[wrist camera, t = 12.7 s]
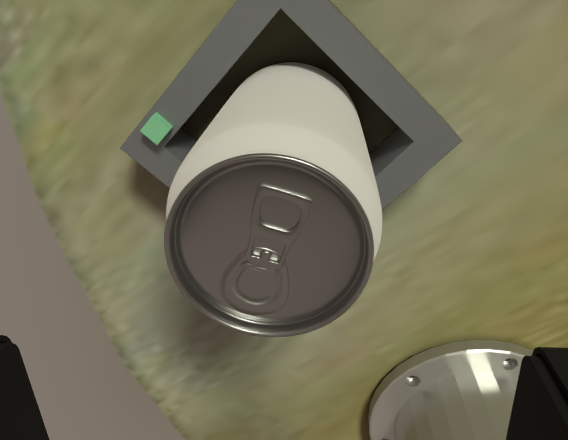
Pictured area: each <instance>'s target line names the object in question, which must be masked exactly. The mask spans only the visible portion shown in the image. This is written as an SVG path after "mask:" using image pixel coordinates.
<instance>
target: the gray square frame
mask: <svg viewBox="0 0 568 440" xmlns="http://www.w3.org/2000/svg"><path fill="white" fill-rule="evenodd" d="M281 9H282V10H283V11H284V12H285V13H286V14H287V15H288V16H289V17H290V18H291V19H292V20H293V21H294V22H295V23H296V24H297V25H298V26H299V27H300V28H301V29H302V30H303V31H304V32H305V33H306V34H307V35H308V36H309V37H310V38H311V39H312V40H313V41H314V42H315V43H316V44H317V45H318V46H319V47H320V48H321V49H322V50H323V51H324V52H325V53H326V54H327V55H328V56H329V57H330V58H331V59H332V60H333V61H334V62H335V63H336V64H337V65H338V66H339V67H340V68H341V69H342V70H343V71H344V72H345V73H346V74H347V75H348V76H349V77H350V78H351V79H352V80H353V81H354V82H355V83H356V84H357V85H358V86H359V87H360V88H361V89H362V90H363V91H364V92H365V93H366V94H367V95H368V96H369V97H370V98H371V99H372V100H373V101H374V102H375V103H376V104H377V105H378V106H379V107H380V108H381V109H382V110H383V111H384V112H385V113H386V114H387V115H388V116H389V117H390V118H391V119H392V120H393V121H394V122H395V123H396V124H397V125H398V126H399V127H398V128H397V129H396V130H395V131H394V132H393V133H392V134H391V135H389V136H388V137H387V138H386V139H385V140H384V141H383V142H382V143H381V144H380V145H379V146H378V147H377V148H376V149H374V150H373V151H372V152H371V153H370V154H369V157H370V160H371V164H372V168H373V172H374V175H375V179H376V183H377V188H378V192H379V197H380V202H381V208H382V210H383V209H384V208H385V207H386V206H388V205H389V204H390V203H391V202H392V201H393V200H395V199H396V198H397V197H398V196H399V195H400V194H401V193H403V192H404V191H405V190H406V189H407V188H408V187H410V186H411V185H412V184H413V183H414V182H415V181H417V180H418V179H419V178H420V177H421V176H422V175H423V174H425V173H426V172H427V171H428V170H429V169H430V168H432V167H433V166H434V165H435V164H436V163H437V162H439V161H440V160H441V159H442V158H443V157H444V156H445V155H447V154H448V153H449V152H450V151H451V150H452V149H454V148H455V147H456V146H457V145H458V144H459V143H461V142H462V140H461V138H460V137H459V136H458V135H457V134H456V133H455V131H454V130H453V129H452V128H451V127H450V126H449V124H448V123H447V122H446V121H445V120H444V119H443V118H442V117H441V116H440V115H439V114H438V113H437V112H436V110H435V109H434V108H433V107H432V106H431V105H430V104H429V103H428V102H427V101H426V100H425V99H424V98H423V97H422V96H421V95H420V94H419V93H418V92H417V91H416V90H415V89H414V88H413V87H412V85H411V84H410V83H409V82H408V81H407V80H406V79H405V78H404V77H403V76H402V75H401V74H400V73H399V72H398V71H397V70H396V69H395V68H394V67H393V66H392V65H391V64H390V63H389V61H388V60H387V59H386V58H385V57H384V56H383V55H382V54H381V53H380V52H379V51H378V50H377V49H376V48H375V47H374V46H373V45H372V44H371V43H370V42H369V41H368V40H367V39H366V37H365V36H364V35H363V34H362V33H361V32H360V31H359V30H358V29H357V28H356V27H355V26H354V25H353V24H352V23H351V22H350V21H349V20H348V19H347V18H346V17H345V16H344V15H343V13H342V12H341V11H340V10H339V9H338V8H337V7H336V6H335V5H334V4H333V3H332V2H331V1H330V0H237V1H236V2H235V3H234V5H233V6H232V7H231V9H230V10H229V11H228V12H227V14H226V15H225V16H224V17H223V19H222V20H221V21H220V22H219V24H218V25H217V26H216V27H215V29H214V30H213V31H212V32H211V34H210V35H209V36H208V38H207V39H206V40H205V41H204V43H203V44H202V45H201V46H200V48H199V49H198V50H197V51H196V53H195V54H194V55H193V56H192V58H191V59H190V60H189V62H188V63H187V64H186V65H185V67H184V68H183V69H182V70H181V72H180V73H179V74H178V75H177V77H176V78H175V79H174V80H173V82H172V83H171V84H170V85H169V87H168V88H167V89H166V91H165V92H164V93H163V94H162V96H161V97H160V98H159V99H158V101H157V102H156V103H155V104H154V106H153V107H152V108H151V109H150V111H149V112H148V113H147V115H146V116H145V117H144V118H143V120H142V121H141V122H140V123H139V125H138V126H137V127H136V128H135V130H134V131H133V132H132V133H131V135H130V136H129V137H128V138H127V140H126V141H125V142H124V144H123V145H122V146H121V147H120V149H122V150H123V151H124V152H125V153H127V154H128V155H129V156H130V157H131V158H133V159H134V160H135V161H136V162H138V163H139V164H140V165H141V166H143V167H144V168H145V169H146V170H148V171H149V172H150V173H151V174H153V175H154V176H155V177H156V178H157V179H159V180H160V181H161V182H162V183H164V184H165V185H166V186H167V187H169V188H170V187H171V185H172V182H173V179H174V177H175V175H176V173H177V171H178V169H179V167H180V166H181V164H182V162H183V161H184V159H185V158H186V156H187V155H188V153H189V152H190V150H191V149H192V148H193V146H194V145H195V143H196V142H197V141H196V140H195V139H194V138H192V137H191V136H190V135H189V134H188V133H187V132H185V131H184V130H183V129H182V127H183V125H184V124H185V123H186V122H187V121H188V119H189V118H190V117H191V116H192V115H193V113H194V112H195V111H196V110H197V109H198V107H199V106H200V105H201V104H202V103H203V102H204V100H205V99H206V98H207V97H208V96H209V94H210V93H211V92H212V91H213V90H214V88H215V87H216V86H217V85H218V84H219V83H220V81H221V80H222V79H223V78H224V77H225V75H226V74H227V73H228V72H229V71H230V69H231V68H232V67H233V66H234V65H235V64H236V62H237V61H238V60H239V59H240V58H241V56H242V55H243V54H244V53H245V52H246V50H247V49H248V48H249V47H250V46H251V44H252V43H253V42H254V41H255V40H256V39H257V37H258V36H259V35H260V34H261V33H262V31H263V30H264V29H265V28H266V27H267V25H268V24H269V23H270V22H271V21H272V20H273V18H274V17H275V16H276V15H277V14H278V12H279V11H280V10H281Z"/></svg>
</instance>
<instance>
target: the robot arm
mask: <svg viewBox="0 0 568 440" xmlns="http://www.w3.org/2000/svg"><path fill="white" fill-rule="evenodd" d="M368 423H369V435H370V439H371V440H568V348H548V347H538V348H535V349H534V351H533V350H530V349H528V348H525V347H522V346H519V345H516V344H512V343H506V342H501V341H495V340H469V341H460V342H452V343H448V344H444V345H441V346H437V347H433V348H430V349H428V350H426V351H423V352H421V353H419V354H416V355H414V356H412V357H411V358H409V359H408V360H406V361H405V362H403V363H401V364H400V365H398V366H397V367H396V368H395V369H394V370H393V371H392V372H390V373H389V374H388V375H387V376H386V377H385V378H384V379H383V381H382V382H381V384H380V385H379V386H378V388H377V389H376V391H375V393H374V395H373V398H372V400H371V402H370V407H369V413H368ZM0 440H49V437H48V434H47V431H46V429H45V425H44V423H43V419H42V416H41V413H40V410H39V407H38V405H37V402H36V399H35V396H34V393H33V390H32V387H31V384H30V381H29V378H28V375H27V372H26V369H25V366H24V363H23V360H22V357H21V354H20V351H19V349H18V347H17V346H16V345H15V344H13V343H12V342H11V340H10V339H9V338H8V337H7V336H3V335H0Z"/></svg>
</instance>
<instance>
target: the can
mask: <svg viewBox="0 0 568 440" xmlns="http://www.w3.org/2000/svg"><path fill="white" fill-rule="evenodd" d="M381 234H382V208H381V202H380V197H379V192H378V188H377V183H376V179H375V175H374V172H373V168H372V164H371V160H370V157H369V153H368V149H367V145H366V142H365V138H364V134H363V131H362V127H361V124H360V120H359V117H358V114H357V110H356V108H355V105H354V103H353V101H352V99H351V97H350V95H349V94H348V92H347V91H346V89H345V88H344V87H343V86H342V85H341V84H340V83H339V82H338V81H337V80H336V79H335V78H334V77H333V76H331V75H330V74H328V73H327V72H325V71H323V70H321V69H319V68H317V67H314V66H312V65H308V64H303V63H296V62H286V63H278V64H274V65H270V66H267V67H265V68H263V69H261V70H259V71H257V72H255V73H254V74H252V75H251V76H249V77H248V78H247V79H246V80H245V81H244V82H243V83H242V84H241V85H240V86H239V87H238V88H237V89H236V91H235V92H234V93H233V94H232V96H231V97H230V98H229V99H228V101H227V102H226V103H225V105H224V106H223V107H222V109H221V110H220V111H219V113H218V114H217V115H216V116H215V118H214V119H213V121H212V122H211V123H210V125H209V126H208V127H207V129H206V130H205V131H204V133H203V134H202V135H201V137H200V138H199V139H198V141H197V142H196V143H195V145H194V146H193V148H192V149H191V150H190V152H189V153H188V155H187V156H186V158H185V159H184V161H183V162H182V164H181V166H180V167H179V169H178V171H177V173H176V175H175V177H174V179H173V182H172V185H171V187H170V191H169V194H168V199H167V205H166V226H165V234H164V247H165V255H166V260H167V264H168V267H169V270H170V272H171V275H172V277H173V279H174V281H175V283H176V284H177V286H178V288H179V289H180V290H181V292H182V293H183V295H184V296H185V297H186V298H187V299H188V300H189V302H190V303H191V304H192V305H193V306H194V307H196V308H197V309H198V310H199V311H200V312H202V313H203V314H204V315H206V316H207V317H208V318H210V319H212V320H213V321H215V322H217V323H219V324H221V325H223V326H225V327H227V328H229V329H232V330H235V331H238V332H241V333H245V334H249V335H254V336H262V337H288V336H295V335H300V334H304V333H307V332H311V331H313V330H316V329H319V328H321V327H323V326H325V325H327V324H329V323H331V322H332V321H334V320H335V319H337V318H338V317H340V316H341V315H342V314H343V313H345V312H346V311H347V310H348V309H349V308H350V307H351V306H352V305H353V304H354V302H355V301H356V300H357V299H358V297H359V296H360V295H361V293H362V291H363V290H364V288H365V286H366V284H367V282H368V279H369V276H370V273H371V270H372V266H373V261H374V259H375V257H376V254H377V251H378V248H379V245H380V240H381Z"/></svg>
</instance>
